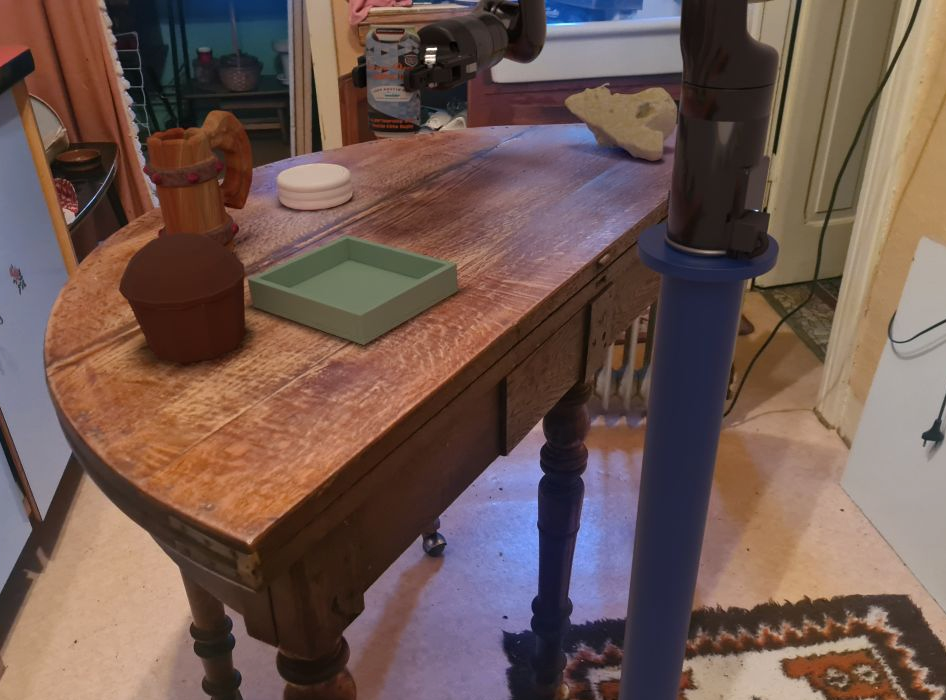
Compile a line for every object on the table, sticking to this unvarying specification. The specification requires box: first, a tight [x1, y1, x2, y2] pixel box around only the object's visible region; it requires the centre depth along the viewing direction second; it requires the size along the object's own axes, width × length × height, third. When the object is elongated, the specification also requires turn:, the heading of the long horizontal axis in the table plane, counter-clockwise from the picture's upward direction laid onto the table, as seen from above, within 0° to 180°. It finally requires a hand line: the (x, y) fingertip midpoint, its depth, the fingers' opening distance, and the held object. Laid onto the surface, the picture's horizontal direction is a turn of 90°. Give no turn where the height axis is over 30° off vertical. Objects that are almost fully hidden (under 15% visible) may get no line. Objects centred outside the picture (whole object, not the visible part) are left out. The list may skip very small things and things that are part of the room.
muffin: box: [118, 233, 246, 364], centre depth 79 cm, size 12×11×10 cm
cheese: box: [564, 82, 678, 162], centre depth 129 cm, size 15×7×15 cm
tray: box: [247, 234, 459, 346], centre depth 88 cm, size 16×15×3 cm
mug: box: [142, 109, 254, 254], centre depth 97 cm, size 15×8×15 cm, turn 151°
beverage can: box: [364, 24, 422, 139], centre depth 96 cm, size 6×7×12 cm
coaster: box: [275, 163, 354, 211], centre depth 115 cm, size 10×10×4 cm
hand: (381, 80), depth 94 cm, fingers closed on beverage can, 6 cm apart
